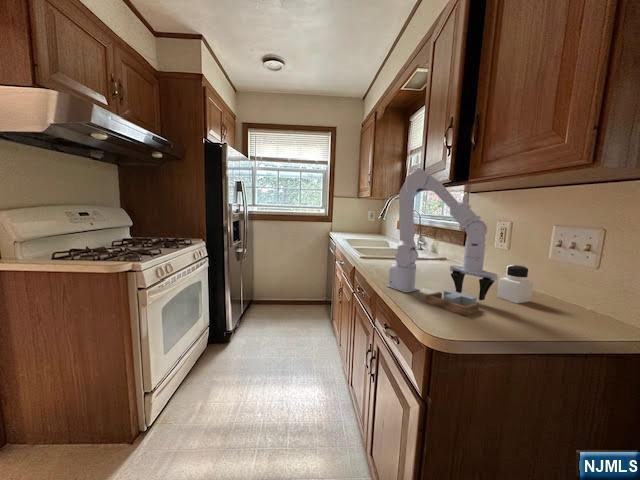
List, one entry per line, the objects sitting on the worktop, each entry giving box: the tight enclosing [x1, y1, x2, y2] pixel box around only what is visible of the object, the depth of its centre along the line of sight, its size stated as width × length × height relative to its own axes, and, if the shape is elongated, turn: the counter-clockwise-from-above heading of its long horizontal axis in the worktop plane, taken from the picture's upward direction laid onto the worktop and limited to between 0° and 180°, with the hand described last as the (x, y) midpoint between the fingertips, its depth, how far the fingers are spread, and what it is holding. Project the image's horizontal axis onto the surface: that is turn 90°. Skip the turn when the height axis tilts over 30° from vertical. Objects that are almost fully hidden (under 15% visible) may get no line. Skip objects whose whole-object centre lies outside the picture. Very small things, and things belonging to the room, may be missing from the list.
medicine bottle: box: [496, 264, 534, 304], centre depth 95 cm, size 7×7×12 cm
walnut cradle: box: [425, 291, 480, 317], centre depth 86 cm, size 13×7×2 cm, turn 34°
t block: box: [442, 289, 477, 306], centre depth 87 cm, size 9×8×4 cm
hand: (469, 296), depth 92 cm, fingers open, 7 cm apart
